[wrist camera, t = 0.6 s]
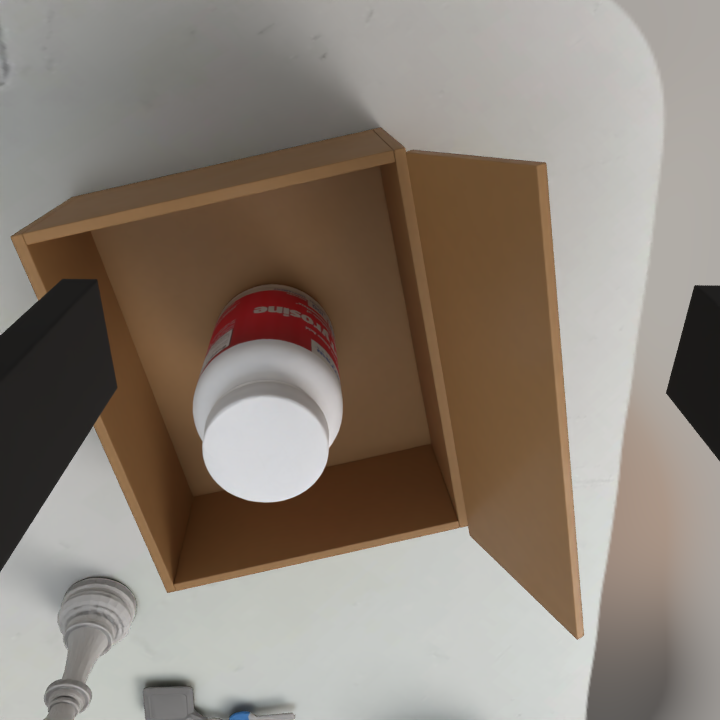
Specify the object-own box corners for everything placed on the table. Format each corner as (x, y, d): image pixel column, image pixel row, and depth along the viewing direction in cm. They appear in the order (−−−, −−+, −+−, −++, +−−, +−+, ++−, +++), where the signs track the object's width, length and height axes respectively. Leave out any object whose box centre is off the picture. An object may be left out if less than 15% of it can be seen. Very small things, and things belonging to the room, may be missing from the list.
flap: (536, 165, 18) (547, 162, 18) (404, 151, 24) (412, 149, 24) (577, 640, 25) (584, 635, 25) (469, 535, 31) (475, 532, 31)
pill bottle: (357, 326, 35) (383, 437, 25) (287, 410, 36) (284, 545, 26) (260, 256, 33) (244, 345, 23) (190, 347, 34) (147, 467, 24)
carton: (71, 197, 31) (9, 236, 24) (381, 127, 31) (405, 147, 24) (189, 499, 39) (167, 593, 32) (438, 444, 39) (468, 526, 32)
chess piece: (118, 638, 43) (70, 795, 34) (52, 613, 41) (-16, 770, 32) (149, 592, 41) (109, 743, 32) (83, 565, 40) (21, 714, 31)
